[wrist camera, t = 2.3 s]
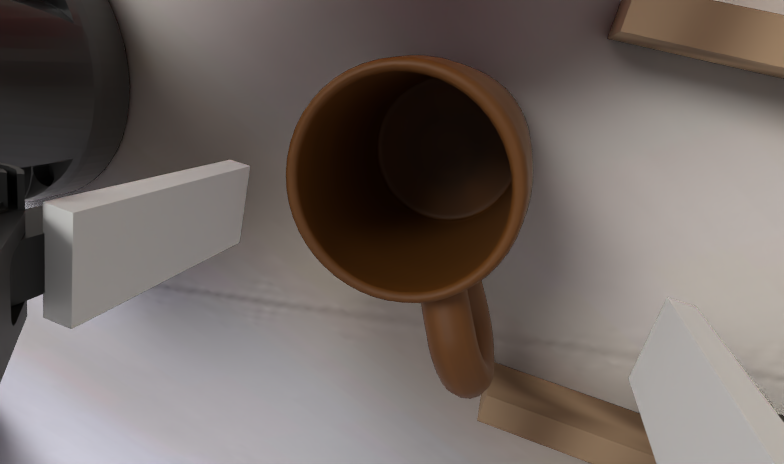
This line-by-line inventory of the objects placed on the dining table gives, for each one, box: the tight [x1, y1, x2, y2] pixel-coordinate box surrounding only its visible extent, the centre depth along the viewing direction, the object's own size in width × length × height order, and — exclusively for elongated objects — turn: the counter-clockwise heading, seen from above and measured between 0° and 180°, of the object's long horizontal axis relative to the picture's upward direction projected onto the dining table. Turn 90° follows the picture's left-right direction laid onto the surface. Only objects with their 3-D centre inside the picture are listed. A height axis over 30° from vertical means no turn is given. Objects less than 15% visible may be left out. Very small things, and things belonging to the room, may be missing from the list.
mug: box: [286, 55, 533, 399], centre depth 19 cm, size 12×8×9 cm, turn 17°
